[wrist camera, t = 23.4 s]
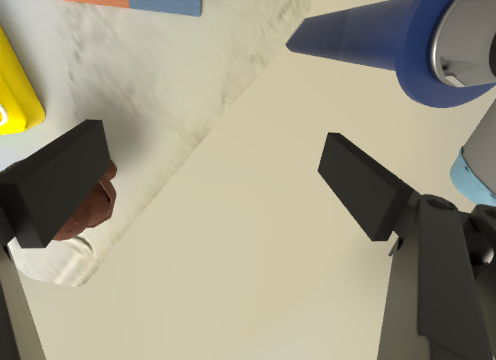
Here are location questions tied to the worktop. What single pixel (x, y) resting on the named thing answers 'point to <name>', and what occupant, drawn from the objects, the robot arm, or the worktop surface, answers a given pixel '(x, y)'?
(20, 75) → the element tile
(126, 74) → the worktop surface
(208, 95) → the worktop surface
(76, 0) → the mat
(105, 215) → the ice cream bowl
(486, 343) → the robot arm
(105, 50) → the worktop surface
